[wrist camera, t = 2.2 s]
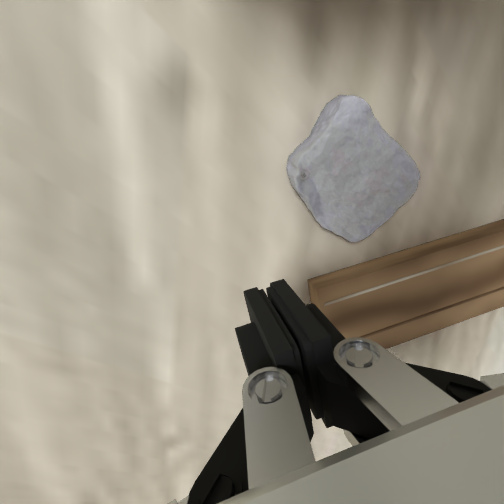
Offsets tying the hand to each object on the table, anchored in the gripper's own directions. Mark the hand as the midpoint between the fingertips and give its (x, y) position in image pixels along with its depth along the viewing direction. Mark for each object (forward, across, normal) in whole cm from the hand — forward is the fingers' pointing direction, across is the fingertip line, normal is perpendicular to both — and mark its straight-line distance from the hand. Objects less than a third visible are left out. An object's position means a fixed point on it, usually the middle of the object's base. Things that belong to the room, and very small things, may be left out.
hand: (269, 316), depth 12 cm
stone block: (+18, -13, -1) cm, 22 cm away
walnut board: (+17, -24, +14) cm, 33 cm away
